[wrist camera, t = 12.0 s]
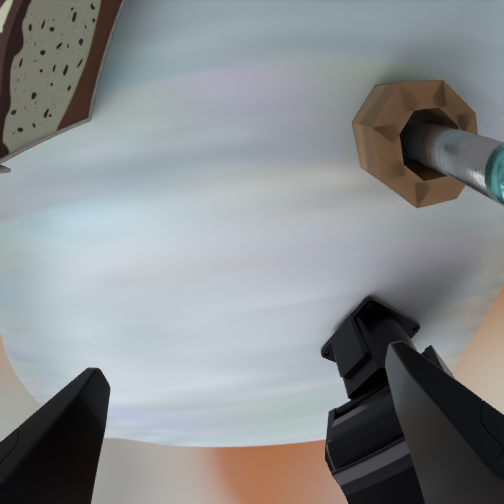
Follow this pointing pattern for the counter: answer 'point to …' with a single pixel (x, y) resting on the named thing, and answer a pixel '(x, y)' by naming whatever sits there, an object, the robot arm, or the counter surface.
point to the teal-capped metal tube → (457, 155)
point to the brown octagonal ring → (388, 140)
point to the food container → (50, 67)
